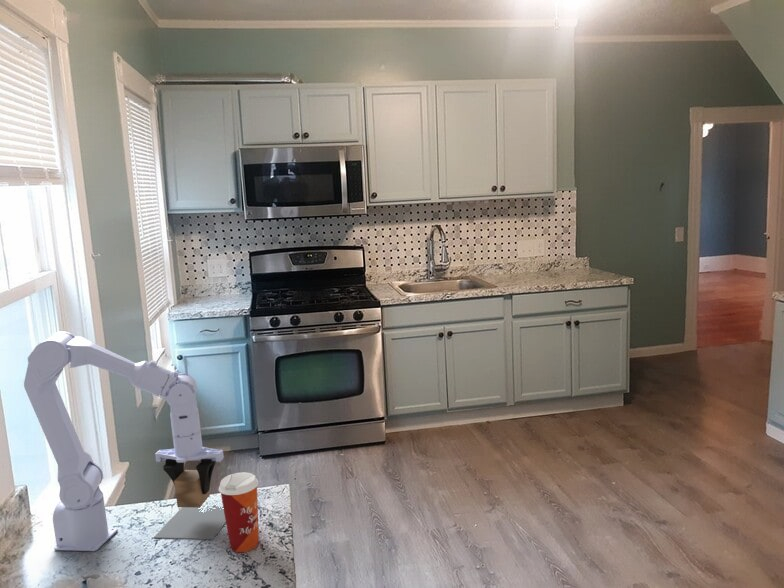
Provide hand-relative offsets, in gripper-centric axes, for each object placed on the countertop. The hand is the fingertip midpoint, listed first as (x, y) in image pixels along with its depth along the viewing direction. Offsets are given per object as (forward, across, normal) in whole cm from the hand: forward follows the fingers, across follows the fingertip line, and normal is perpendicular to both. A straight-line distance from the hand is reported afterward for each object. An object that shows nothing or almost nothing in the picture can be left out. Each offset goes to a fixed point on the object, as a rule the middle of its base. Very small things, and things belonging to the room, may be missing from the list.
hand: (193, 492), depth 132 cm
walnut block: (+2, 0, 0) cm, 2 cm away
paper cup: (+7, +14, -8) cm, 18 cm away
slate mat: (+7, 0, 0) cm, 7 cm away
